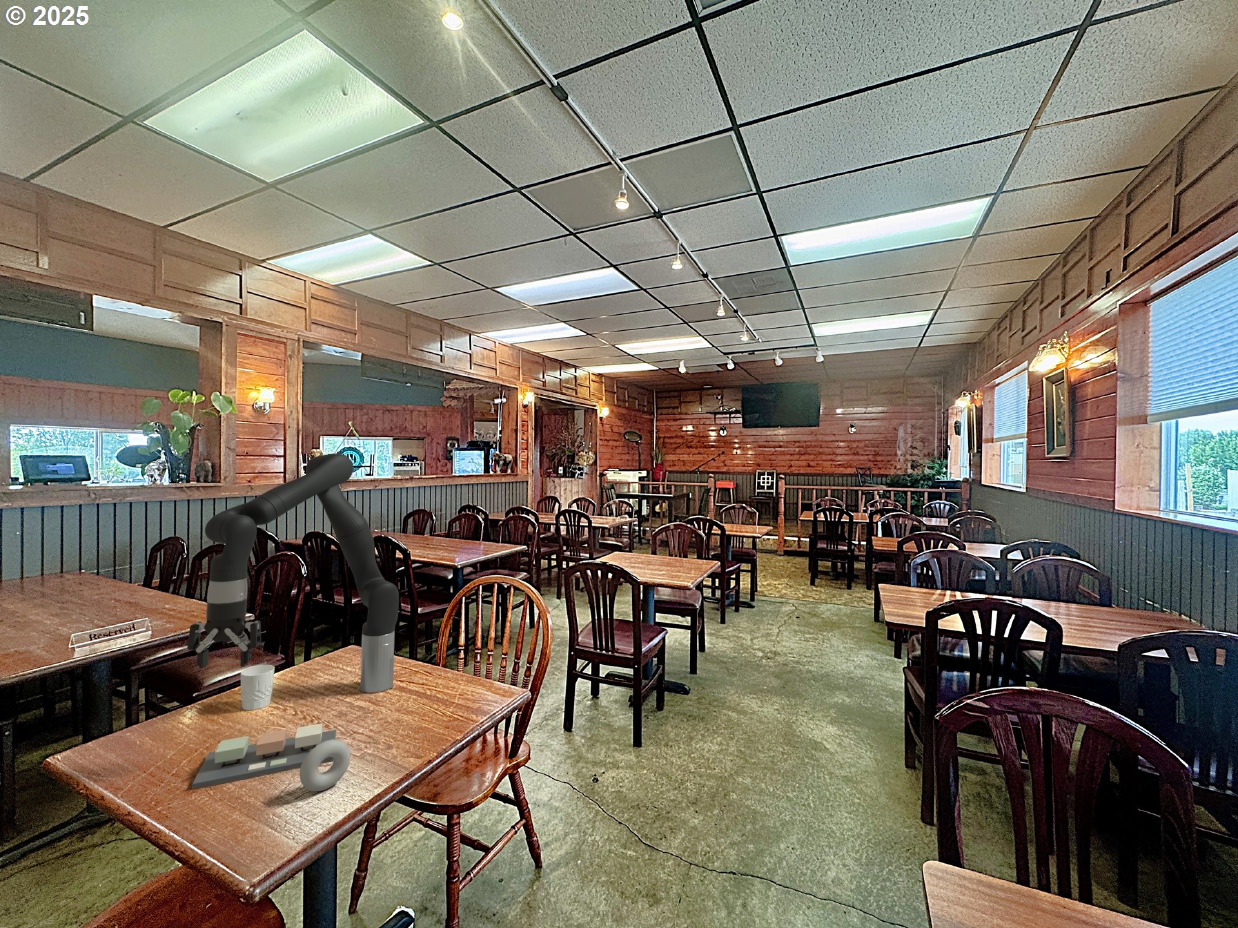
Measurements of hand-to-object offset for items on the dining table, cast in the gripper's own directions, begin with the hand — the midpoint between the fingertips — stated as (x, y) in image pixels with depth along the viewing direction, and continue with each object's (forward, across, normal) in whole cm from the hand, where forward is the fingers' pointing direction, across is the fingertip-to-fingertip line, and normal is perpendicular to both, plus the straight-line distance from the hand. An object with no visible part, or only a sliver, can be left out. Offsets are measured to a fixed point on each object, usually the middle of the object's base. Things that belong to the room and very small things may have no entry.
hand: (223, 666), depth 120 cm
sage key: (+19, -5, +6) cm, 21 cm away
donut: (+21, -29, +17) cm, 39 cm away
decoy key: (+19, -13, +4) cm, 23 cm away
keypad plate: (+21, -13, +4) cm, 25 cm away
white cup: (+21, +4, -26) cm, 34 cm away
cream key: (+19, -20, +2) cm, 28 cm away
